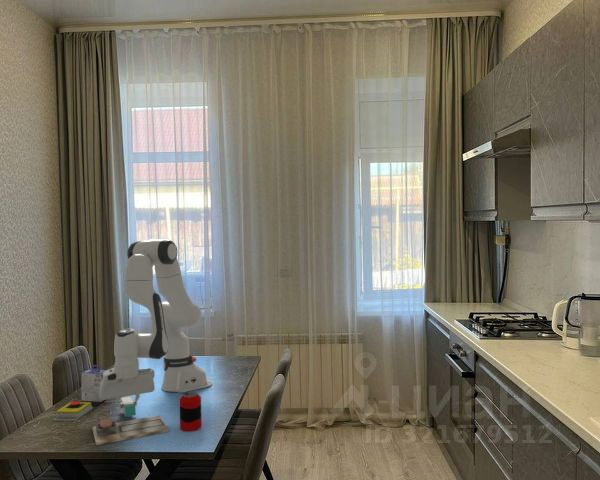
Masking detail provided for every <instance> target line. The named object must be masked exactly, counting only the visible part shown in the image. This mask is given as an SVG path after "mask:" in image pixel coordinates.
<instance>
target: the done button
mask: <svg viewBox="0 0 600 480" xmlns="http://www.w3.org/2000/svg"><path fill="white" fill-rule="evenodd" d="M112 421H113V419H112V418H102V419H100V421H99V424H100V429H101V428H107V427H112Z"/></svg>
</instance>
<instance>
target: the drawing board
mask: <svg viewBox="0 0 600 480" xmlns="http://www.w3.org/2000/svg"><path fill="white" fill-rule="evenodd" d="M91 430H92V433H93V438H94V443H95V445H96V446H101V445H104V444H105V443H106V444H109V443H115V442H116V443H117V442H121V441H126V440H131V439H139V438H143V437H148V436H152V435H153V436H154V435H159V434H163V433H168V432H169V431H170V430H169V427H168V426H167V423H166V422H165V421H164V420H163V417H162V416H161V415H153V416H148V417H142V418H136V419H130V420H125V421H119V422H115V421H114V420H112V427H107V428H101V429H100V423H96V424H95V426H92V428H91Z"/></svg>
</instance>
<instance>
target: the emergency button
mask: <svg viewBox="0 0 600 480" xmlns="http://www.w3.org/2000/svg"><path fill="white" fill-rule="evenodd" d="M93 409H94V406H92V401H79V400H77V401H70V402H68V403H67V404H66V405H64V406H62V407H60V408H59V409H57V410H56V413H55V415H56V416H55V418H53V419H52V421H59V422H60V421H62V422H64V421H65V422H76V421H78V420H79V419H81V417H83V416H84V415H86V414H87V413H88V412H90V411H91V410H93Z"/></svg>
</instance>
